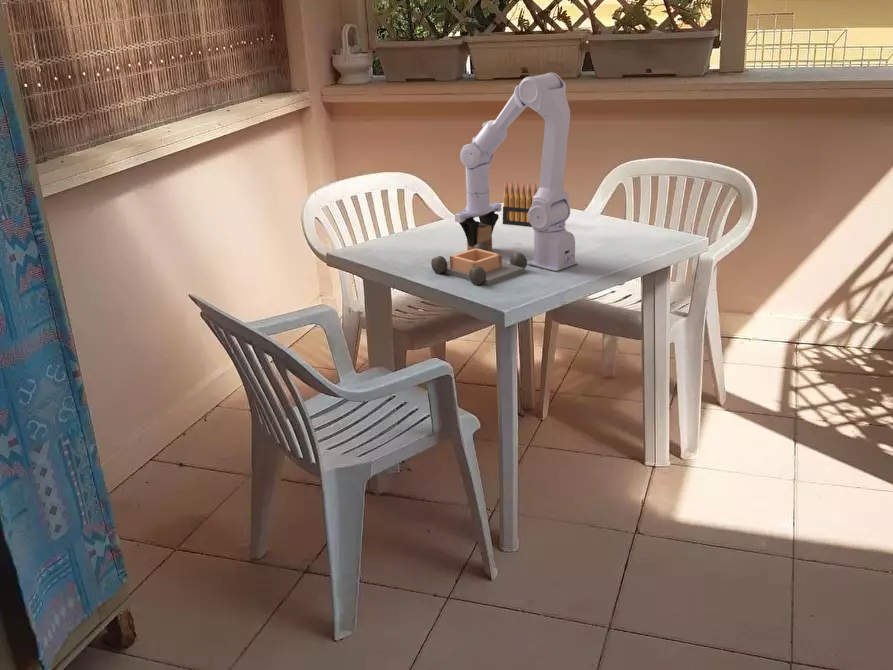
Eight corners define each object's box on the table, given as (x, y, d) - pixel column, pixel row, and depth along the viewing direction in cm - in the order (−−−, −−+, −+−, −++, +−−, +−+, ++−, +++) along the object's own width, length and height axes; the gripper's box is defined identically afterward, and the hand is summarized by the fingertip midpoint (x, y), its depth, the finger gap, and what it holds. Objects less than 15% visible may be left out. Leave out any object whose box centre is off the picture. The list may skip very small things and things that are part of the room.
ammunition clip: (502, 224, 249) (501, 182, 245) (505, 222, 251) (504, 180, 246) (537, 227, 244) (536, 184, 240) (539, 225, 246) (539, 183, 241)
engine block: (492, 250, 226) (491, 222, 223) (479, 254, 223) (478, 226, 220) (479, 247, 229) (479, 219, 226) (467, 251, 226) (466, 223, 223)
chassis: (528, 271, 209) (528, 254, 207) (482, 287, 199) (482, 269, 198) (475, 256, 221) (475, 240, 219) (430, 271, 212) (429, 254, 210)
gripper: (487, 184, 227) (488, 235, 232) (445, 194, 218) (448, 247, 223) (506, 187, 222) (507, 239, 227) (465, 198, 213) (467, 252, 219)
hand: (479, 244), depth 225 cm, fingers closed on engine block, 4 cm apart
